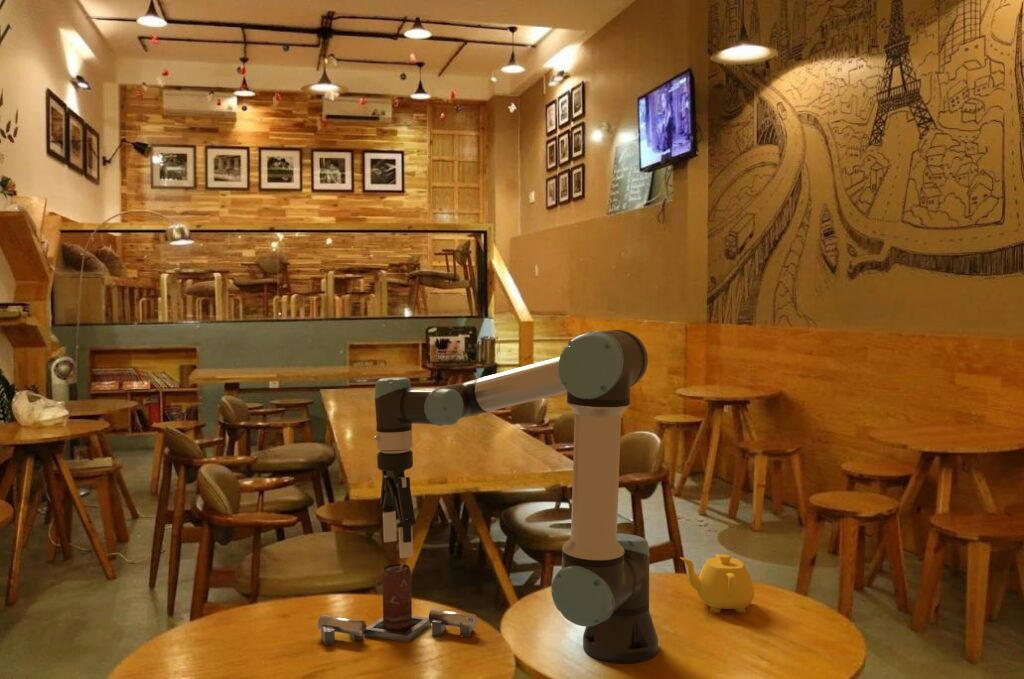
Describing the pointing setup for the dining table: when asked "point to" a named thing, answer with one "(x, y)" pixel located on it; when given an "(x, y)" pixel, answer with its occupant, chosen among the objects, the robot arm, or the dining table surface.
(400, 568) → the can
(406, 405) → the robot arm
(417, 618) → the coupling rig
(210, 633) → the dining table surface
